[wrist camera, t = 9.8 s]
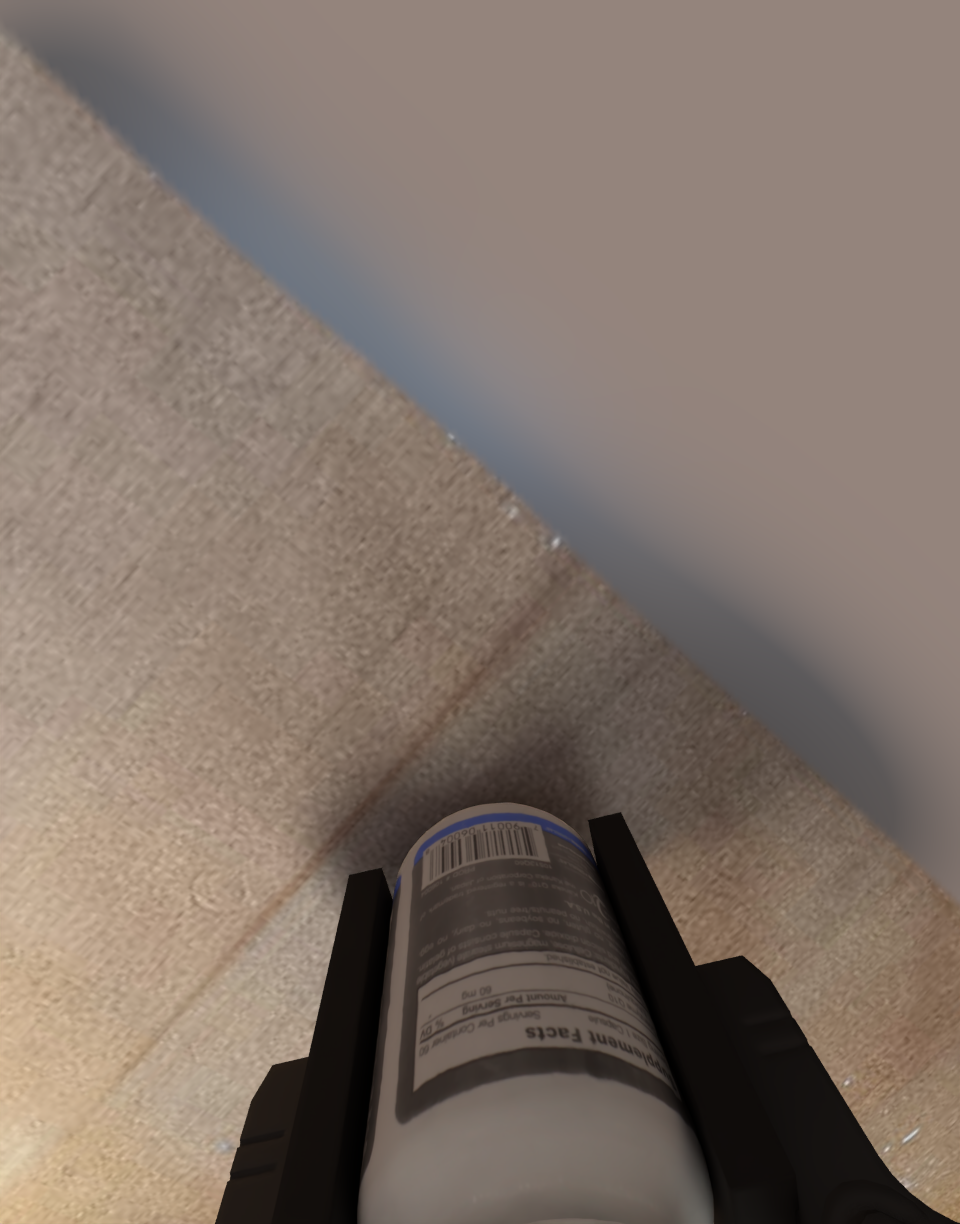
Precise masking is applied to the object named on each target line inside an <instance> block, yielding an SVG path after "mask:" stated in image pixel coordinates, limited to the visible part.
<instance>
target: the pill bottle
mask: <svg viewBox="0 0 960 1224" xmlns="http://www.w3.org/2000/svg"><path fill="white" fill-rule="evenodd" d="M357 1224H714V1198H713V1192H712V1186H711V1181H710V1177H709V1172H708V1168H707V1163H706V1160H705V1156H704V1152H703V1149H702V1146H701V1142H700V1139H699V1136H698V1133H697V1130H696V1128H695V1125H694V1122H693V1120H692V1117H691V1115H690V1112H689V1110H688V1107H687V1105H686V1102H685V1100H684V1098H683V1095H682V1093H681V1091H680V1088H679V1085H678V1082H677V1079H676V1077H675V1074H674V1072H673V1070H672V1069H671V1067H670V1065H669V1063H668V1060H667V1056H666V1052H665V1049H664V1047H663V1045H662V1043H661V1040H660V1036H659V1034H658V1031H657V1029H656V1026H655V1024H654V1021H653V1018H652V1015H651V1011H650V1008H649V1005H648V1002H647V1000H646V998H645V995H644V993H643V990H642V987H641V984H640V981H639V978H638V975H637V972H636V968H635V965H634V963H633V961H632V959H631V957H630V954H629V951H628V948H627V945H626V942H625V939H624V937H623V934H622V931H621V929H620V927H619V924H618V922H617V919H616V915H615V912H614V910H613V907H612V904H611V902H610V899H609V897H608V894H607V892H606V889H605V886H604V883H603V880H602V877H601V875H600V872H599V869H598V867H597V864H596V862H595V860H594V857H593V855H592V853H591V851H590V849H589V848H588V846H587V844H586V843H585V841H584V840H583V839H582V837H581V836H580V835H579V834H578V833H577V832H576V831H575V830H574V829H573V828H571V827H570V826H569V825H568V824H566V823H565V822H564V821H562V820H560V819H559V818H557V817H555V816H553V815H552V814H550V813H548V812H545V811H542V810H540V809H537V808H534V807H531V806H527V805H523V804H517V803H510V802H504V803H492V804H483V805H477V806H473V807H469V808H466V809H463V810H460V811H457V812H455V813H453V814H451V815H449V816H447V817H445V818H444V819H442V820H441V821H439V822H438V823H437V824H435V825H434V826H433V827H431V828H430V829H429V830H428V831H426V832H425V833H424V834H423V835H422V836H421V837H420V838H419V839H418V841H417V842H416V843H415V844H414V846H413V847H412V848H411V849H410V851H409V852H408V854H407V856H406V858H405V859H404V861H403V864H402V866H401V868H400V870H399V873H398V876H397V881H396V885H395V890H394V897H393V904H392V913H391V918H390V931H389V940H388V947H387V956H386V965H385V973H384V982H383V992H382V997H381V1007H380V1017H379V1028H378V1036H377V1044H376V1053H375V1061H374V1069H373V1080H372V1087H371V1094H370V1102H369V1112H368V1120H367V1128H366V1136H365V1143H364V1149H363V1160H362V1167H361V1174H360V1183H359V1193H358V1205H357Z"/></svg>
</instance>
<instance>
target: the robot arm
mask: <svg viewBox="0 0 960 1224" xmlns="http://www.w3.org/2000/svg"><path fill="white" fill-rule="evenodd" d="M588 823H589V828H590V833H591V838H592V843H593V848H594V853H595V858H596V863H597V867H598V869H599V872H600V875H601V877H602V880H603V883H604V886H605V889H606V892H607V894H608V897H609V899H610V902H611V904H612V907H613V910H614V912H615V915H616V919H617V922H618V924H619V927H620V929H621V931H622V934H623V937H624V939H625V942H626V945H627V948H628V951H629V954H630V957H631V959H632V961H633V963H634V965H635V968H636V972H637V975H638V978H639V981H640V984H641V987H642V990H643V993H644V995H645V998H646V1000H647V1002H648V1005H649V1008H650V1011H651V1015H652V1018H653V1021H654V1024H655V1026H656V1029H657V1031H658V1034H659V1036H660V1040H661V1043H662V1045H663V1047H664V1049H665V1052H666V1056H667V1060H668V1063H669V1065H670V1067H671V1069H672V1070H673V1072H674V1074H675V1077H676V1079H677V1082H678V1085H679V1088H680V1091H681V1093H682V1095H683V1098H684V1100H685V1102H686V1105H687V1107H688V1110H689V1112H690V1115H691V1117H692V1120H693V1122H694V1125H695V1128H696V1130H697V1133H698V1136H699V1139H700V1142H701V1146H702V1149H703V1152H704V1156H705V1160H706V1163H707V1168H708V1172H709V1177H710V1181H711V1186H712V1192H713V1198H714V1224H960V1223H958V1222H955V1221H953V1220H951V1219H949V1218H947V1217H945V1216H943V1215H942V1214H940V1213H938V1212H936V1211H934V1210H932V1209H931V1208H930V1207H928V1206H927V1205H926V1204H924V1203H923V1202H922V1201H920V1200H919V1199H918V1198H916V1197H915V1196H914V1195H912V1194H911V1193H910V1192H909V1191H908V1190H907V1189H906V1188H905V1187H904V1186H903V1185H902V1184H901V1183H900V1182H899V1181H898V1180H897V1179H896V1178H895V1177H894V1176H893V1175H892V1174H891V1172H890V1171H889V1169H888V1168H887V1167H886V1165H885V1164H884V1163H883V1161H882V1160H881V1158H880V1157H879V1156H878V1154H877V1153H876V1151H875V1149H874V1148H873V1146H872V1144H871V1143H870V1141H869V1140H868V1138H867V1136H866V1135H865V1133H864V1131H863V1130H862V1128H861V1126H860V1125H859V1123H858V1122H857V1120H856V1118H855V1117H854V1115H853V1113H852V1112H851V1110H850V1109H849V1107H848V1105H847V1104H846V1102H845V1100H844V1099H843V1097H842V1095H841V1094H840V1092H839V1091H838V1089H837V1087H836V1086H835V1084H834V1082H833V1081H832V1079H831V1078H830V1076H829V1074H828V1073H827V1071H826V1069H825V1068H824V1066H823V1065H822V1063H821V1061H820V1060H819V1058H818V1056H817V1055H816V1053H815V1051H814V1050H813V1048H812V1047H811V1046H810V1045H809V1044H808V1041H807V1038H806V1037H805V1035H804V1034H803V1032H802V1030H801V1029H800V1027H799V1025H798V1024H797V1022H796V1020H795V1019H794V1018H792V1016H791V1013H790V1011H789V1009H788V1007H787V1006H786V1004H785V1003H784V1001H783V999H782V998H781V996H780V994H779V993H778V991H777V990H776V988H775V986H774V985H773V983H772V981H771V980H770V979H769V978H768V977H767V976H766V975H764V974H763V973H762V972H761V971H760V970H759V969H758V968H756V967H755V966H754V965H753V964H752V963H751V962H749V961H748V960H747V959H746V958H745V957H744V956H737V957H733V958H729V959H724V960H720V961H715V962H711V963H707V964H702V965H698V966H695V965H694V962H693V960H692V958H691V956H690V954H689V952H688V950H687V948H686V946H685V944H684V942H683V940H682V938H681V936H680V934H679V931H678V929H677V927H676V925H675V923H674V921H673V919H672V917H671V915H670V913H669V911H668V909H667V907H666V905H665V903H664V900H663V898H662V896H661V894H660V892H659V890H658V888H657V886H656V884H655V882H654V880H653V878H652V876H651V874H650V872H649V869H648V867H647V865H646V863H645V861H644V859H643V857H642V855H641V853H640V851H639V849H638V847H637V845H636V843H635V841H634V838H633V836H632V834H631V832H630V830H629V828H628V826H627V824H626V822H625V820H624V818H623V816H622V814H621V812H620V813H616V814H612V815H607V816H603V817H599V818H594V819H590V820H588ZM392 904H393V899H392V896H391V893H390V890H389V887H388V884H387V881H386V878H385V875H384V872H383V869H382V868H378V869H374V870H370V871H365V872H361V873H357V874H352V875H349V878H348V883H347V887H346V892H345V896H344V901H343V905H342V910H341V914H340V919H339V923H338V927H337V932H336V936H335V941H334V945H333V950H332V954H331V959H330V963H329V968H328V972H327V977H326V981H325V985H324V990H323V994H322V999H321V1003H320V1008H319V1012H318V1017H317V1021H316V1026H315V1030H314V1035H313V1039H312V1043H311V1048H310V1052H309V1057H306V1058H301V1059H297V1060H293V1061H288V1062H284V1063H280V1064H275V1065H273V1066H272V1067H271V1069H270V1071H269V1072H268V1074H267V1076H266V1077H265V1079H264V1081H263V1082H262V1084H261V1086H260V1087H259V1089H258V1091H257V1092H256V1094H255V1096H254V1097H253V1099H252V1101H251V1104H250V1107H249V1111H248V1114H247V1118H246V1121H245V1124H244V1128H243V1131H242V1134H241V1138H240V1147H238V1148H237V1151H236V1155H235V1158H234V1161H233V1165H232V1168H231V1171H230V1181H228V1182H227V1185H226V1188H225V1192H224V1195H223V1198H222V1202H221V1205H220V1209H219V1212H218V1215H217V1219H216V1222H215V1224H357V1205H358V1193H359V1183H360V1174H361V1167H362V1160H363V1149H364V1143H365V1136H366V1128H367V1120H368V1112H369V1102H370V1094H371V1087H372V1080H373V1069H374V1061H375V1053H376V1044H377V1036H378V1028H379V1017H380V1007H381V997H382V992H383V982H384V973H385V965H386V956H387V947H388V940H389V931H390V918H391V913H392Z"/></svg>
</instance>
